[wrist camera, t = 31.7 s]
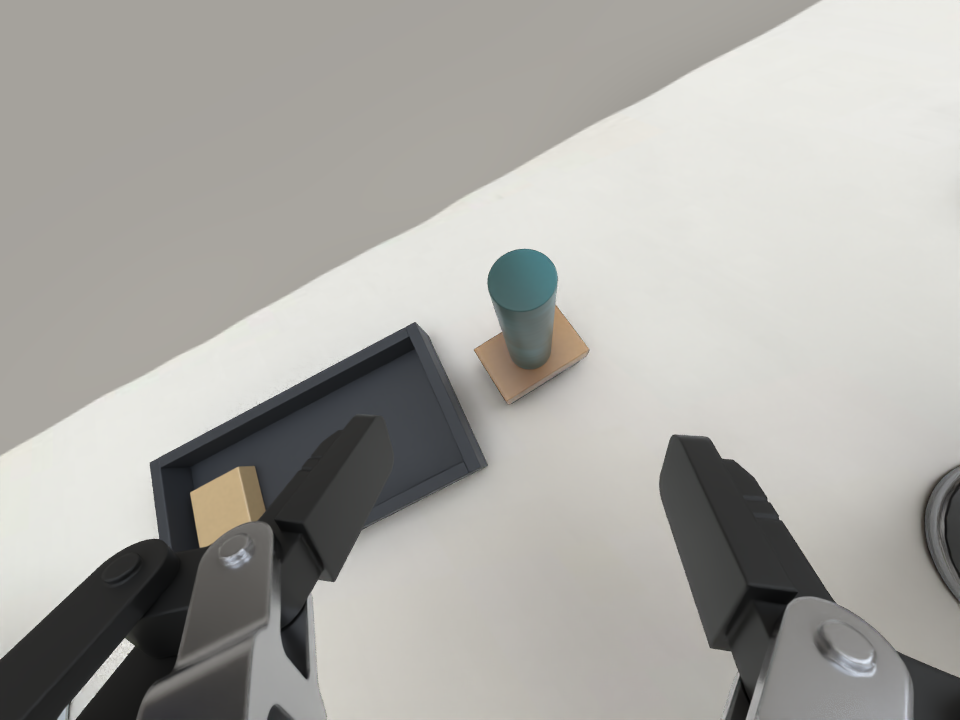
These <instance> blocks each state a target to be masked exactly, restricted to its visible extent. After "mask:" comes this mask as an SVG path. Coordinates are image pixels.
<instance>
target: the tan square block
mask: <svg viewBox="0 0 960 720" xmlns="http://www.w3.org/2000/svg"><path fill="white" fill-rule="evenodd" d="M190 496H191V502H192V507H193V513H194V519H195V525H196V530H197V536H198V542H199V547H200V548H201V547H206V546H211V545H212V544H213V543H214V542H215V541H216V540H217V539H218V538H219V537H220V536H222V535H223V534H224V533H226V532H227V531H229V530H231V529H232V528H234V527H236V526H239V525H241V524H244V523H247V522H251V521H257V520H258V519H259V518H260V517H261V516H262V515H263V514H264V512H265V511H266V509H265V505H264V501H263V497H262V493H261V489H260V485H259V481H258V477H257V473H256V469H255V466H241V467H236V468H235V469H233V470H231V471H229V472H227V473H225V474H223V475H222V476H220V477H218V478H216V479H214V480H212V481H210V482H209V483H207V484H205V485H203V486H201V487H199V488H197V489H196V490H194V491H192V492H190Z"/></svg>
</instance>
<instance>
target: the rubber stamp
mask: <svg viewBox="0 0 960 720" xmlns="http://www.w3.org/2000/svg"><path fill="white" fill-rule="evenodd" d="M557 281H558V276H557V271H556V268H555V266H554V264H553V263H552V261H551V260H550V259H549V258H548V257H547V256H545V255H544V254H542V253H540V252H538V251H535V250H531V249H518V250H514V251H511V252H508V253H506V254H504V255H503V256H502V257H500V258H499V259H498V260H497V261H496V262H495V263H494V265H493V266H492V268H491V270H490V272H489V275H488V282H487V284H488V290H489V293H490V296H491V299H492V303H493V306H494V309H495V312H496V315H497V318H498V321H499V324H500V327H501V330H502V332H501V333H500V334H498V335H496V336H495V337H493V338H492V339H490V340H488V341H487V342H485V343H484V344H482V345H480V346H479V347H477V348H476V349H474V351H475V353H476V354H477V356H478V358H479V359H480V361H481V362H482V364H483V366H484V367H485V369H486V371H487V372H488V374H489V375H490V377H491V379H492V380H493V382H494V383H495V385H496V387H497V388H498V390H499V392H500V393H501V395H502V396H503V398H504V400H505V401H506V403H507V404H512V403H513V402H515V401H517V400H518V399H520V398H521V397H523V396H525V395H526V394H528V393H529V392H531V391H533V390H534V389H536V388H538V387H539V386H541V385H542V384H544V383H546V382H547V381H549V380H550V379H552V378H554V377H555V376H557V375H558V374H560V373H562V372H563V371H565V370H566V369H568V368H570V367H571V366H573V365H575V364H576V363H578V362H579V361H580V360H581V359H583V358H584V357H586V356H587V354H588V351H589V348H588V347H587V346H586V344H585V343H584V342H583V340H582V339H581V338H580V336H579V335H578V334H577V332H576V331H575V330H574V328H573V327H572V326H571V324H570V323H569V322H568V320H567V319H566V318H565V316H564V315H563V314H562V312H561V311H560V310H559V308H558V307H557V306H556V304H555V303H556V292H557Z"/></svg>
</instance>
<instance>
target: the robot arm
mask: <svg viewBox="0 0 960 720" xmlns="http://www.w3.org/2000/svg"><path fill="white" fill-rule="evenodd" d="M393 463H394V452H393V448H392V444H391V441H390V437H389V433H388V430H387V426H386V422H385V419H384V418H383V417H382V416H380V415H365V414H356V415H355V416H353V418H352V419H351V420H350V421H349V423H348V424H347V425H346V426H345V428H344V429H343V430H338V431H336V432H335V433H333V434H332V435H331V436H329V437H328V438H327V439H325V440H324V441H322V443H321V444H320V445H319V446H318V447H317V449H316V450H315V451H314V452H313V454H312V455H311V458H310V459H309V458H308V460H307V461H306V462H305V463H304V465H303V466H302V467H301V470H299V471H298V472H297V473H296V474H295V476H294V477H293V478H292V479H291V480H290V482H289V483H288V484H287V485H286V487H285V488H284V489H283V490H282V492H281V493H280V494H279V495H278V496H277V498H276V499H275V500H274V501H273V503H272V504H271V505H270V506H269V507H268V509H267V510H266V511H265V512H264V514H263V515H262V516H261V517H260V518H259V519H258V520H257V521H251V522H247V523H244V524H241V525H239V526H236V527H234V528H232V529H231V530H229V531H227V532H226V533H224V534H223V535H222V536H220V537H219V538H218V539H217V540H216V541H215V542H214V543H213V544H212V545H211V546H206V547H201V548H196V549H191V550H186V551H180V552H175V553H174V552H173V551H172V549H171V548H170V547H169V546H168V545H167V544H166V543H165V542H164V541H163V540H160V539H149V540H144V541H141V542H138V543H136V544H133V545H131V546H129V547H127V548H125V549H123V550H121V551H120V552H118V553H117V554H115V555H114V556H112V557H111V558H109V559H108V560H107V561H105V562H104V563H103V564H102V565H101V566H100V567H98V568H97V569H96V570H95V571H94V572H93V573H92V574H91V575H90V576H89V577H88V578H87V579H86V580H85V581H84V582H82V583H81V584H80V585H79V586H78V587H77V588H76V589H75V590H74V591H73V592H72V593H71V594H70V595H69V596H68V597H67V598H66V599H64V600H63V601H62V602H61V603H60V604H59V605H58V606H57V607H56V608H55V609H54V610H53V611H52V612H51V613H50V614H49V615H47V616H46V617H45V618H44V619H43V620H42V621H41V622H40V623H39V624H38V625H37V626H36V627H35V628H34V629H33V630H32V631H30V632H29V633H28V634H27V635H26V636H25V637H24V638H23V639H22V640H21V641H20V642H19V643H18V644H17V645H16V646H15V647H14V648H12V649H11V650H10V651H9V652H8V653H7V654H6V655H5V656H4V657H3V658H2V659H1V660H0V720H57V719H58V717H59V716H60V715H61V713H62V712H63V710H64V709H65V708H66V706H67V705H68V704H69V703H70V702H71V701H72V699H73V698H74V697H75V696H76V695H77V694H78V692H79V691H80V690H81V689H82V688H83V686H84V685H85V684H86V683H87V682H88V681H89V679H90V678H91V677H92V676H93V675H94V673H95V672H96V671H97V670H98V669H99V668H100V666H101V665H102V664H103V663H104V662H105V660H106V659H107V658H108V657H109V656H110V655H111V653H112V652H113V651H114V650H115V649H116V648H117V646H118V645H119V644H120V643H121V642H122V640H123V639H124V638H126V639H127V640H128V641H129V642H131V643H132V644H133V645H135V647H134V648H133V650H132V651H131V652H130V653H129V654H128V656H127V657H126V658H125V659H124V661H123V662H122V663H121V664H120V666H119V667H118V668H117V669H116V670H115V672H114V673H113V674H112V675H111V677H110V678H109V679H108V680H107V682H106V683H105V684H104V685H103V687H102V688H101V689H100V690H99V691H98V693H97V694H96V695H95V696H94V698H93V699H92V700H91V701H90V703H89V704H88V705H87V706H86V707H85V709H84V710H83V711H82V712H81V714H80V715H79V716H78V717H77V719H76V720H327V715H326V710H325V706H324V702H323V699H322V696H321V693H320V689H319V684H318V675H317V659H316V643H315V626H314V610H313V597H312V594H311V591H312V589H313V587H314V586H315V584H316V582H317V580H324V581H330V582H335V580H336V578H337V576H338V574H339V572H340V571H341V569H342V567H343V565H344V563H345V561H346V559H347V557H348V555H349V553H350V551H351V549H352V547H353V545H354V543H355V541H356V539H357V538H358V536H359V534H360V532H361V530H362V528H363V526H364V524H365V522H366V520H367V518H368V516H369V514H370V512H371V510H372V508H373V506H374V504H375V503H376V501H377V499H378V497H379V495H380V493H381V491H382V489H383V487H384V485H385V483H386V481H387V479H388V477H389V475H390V473H391V471H392V468H393ZM659 488H660V496H661V500H662V503H663V506H664V509H665V512H666V515H667V518H668V521H669V524H670V528H671V531H672V534H673V537H674V540H675V543H676V546H677V549H678V552H679V555H680V558H681V561H682V564H683V567H684V570H685V573H686V576H687V579H688V582H689V585H690V588H691V591H692V594H693V598H694V601H695V604H696V607H697V610H698V613H699V616H700V619H701V622H702V625H703V628H704V631H705V634H706V637H707V640H708V643H709V646H710V648H713V649H719V650H725V651H731V652H732V655H733V658H734V660H735V663H736V666H737V668H738V672H737V674H736V676H735V678H734V681H733V684H732V687H731V690H730V693H729V696H728V699H727V702H726V704H725V707H724V710H723V713H722V716H721V719H720V720H960V678H958V677H956V676H953V675H951V674H949V673H946V672H944V671H941V670H939V669H937V668H934V667H932V666H929V665H927V664H925V663H922V662H920V661H917V660H915V659H913V658H910V657H908V656H906V655H904V654H902V653H900V652H898V651H896V650H895V649H894V648H893V647H892V646H891V644H890V643H889V642H888V641H887V640H886V639H885V638H884V637H883V636H882V635H881V634H880V633H879V632H878V631H877V630H875V629H874V628H873V627H872V626H871V625H870V624H868V623H867V622H866V621H864V620H863V619H862V618H860V617H859V616H857V615H856V614H854V613H853V612H851V611H849V610H848V609H846V608H844V607H842V606H840V605H838V604H836V602H835V601H834V600H833V598H832V597H831V596H830V594H829V593H828V591H827V590H826V588H825V587H824V585H823V584H822V582H821V580H820V579H819V577H818V576H817V574H816V573H815V571H814V570H813V568H812V566H811V565H810V563H809V562H808V560H807V559H806V557H805V556H804V554H803V553H802V551H801V549H800V548H799V546H798V545H797V543H796V542H795V540H794V539H793V537H792V536H791V534H790V532H789V531H788V529H787V528H786V526H785V525H784V523H783V522H782V521H781V520H779V515H778V514H777V512H776V511H775V509H774V508H773V506H772V505H771V503H770V502H768V501H767V497H766V495H765V494H764V492H763V491H762V489H761V487H760V486H759V484H758V483H757V481H756V480H755V478H754V477H753V476H752V475H750V474H749V473H748V472H747V471H746V470H745V469H743V468H742V467H741V466H740V465H739V464H738V463H736V462H735V461H734V460H729V459H722V458H721V457H720V455H719V453H718V451H717V450H716V448H715V446H714V445H713V443H712V441H711V440H710V439H709V438H708V437H704V436H688V435H672V437H671V438H670V441H669V445H668V448H667V452H666V455H665V459H664V463H663V466H662V470H661V474H660V480H659ZM925 532H926V539H927V543H928V547H929V550H930V553H931V556H932V559H933V561H934V563H935V566H936V568H937V570H938V571H939V573H940V575H941V577H942V579H943V580H944V582H945V583H946V585H947V586H948V588H949V589H950V590H951V592H952V593H953V594H954V596H955V597H956V598H957V599H958V600H959V602H960V466H959V467H957V468H955V469H953V470H952V471H951V472H949V473H948V474H947V475H946V476H944V477H943V478H942V479H941V480H940V482H939V483H938V484H937V485H936V487H935V488H934V490H933V492H932V494H931V496H930V498H929V501H928V504H927V508H926V514H925Z"/></svg>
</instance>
